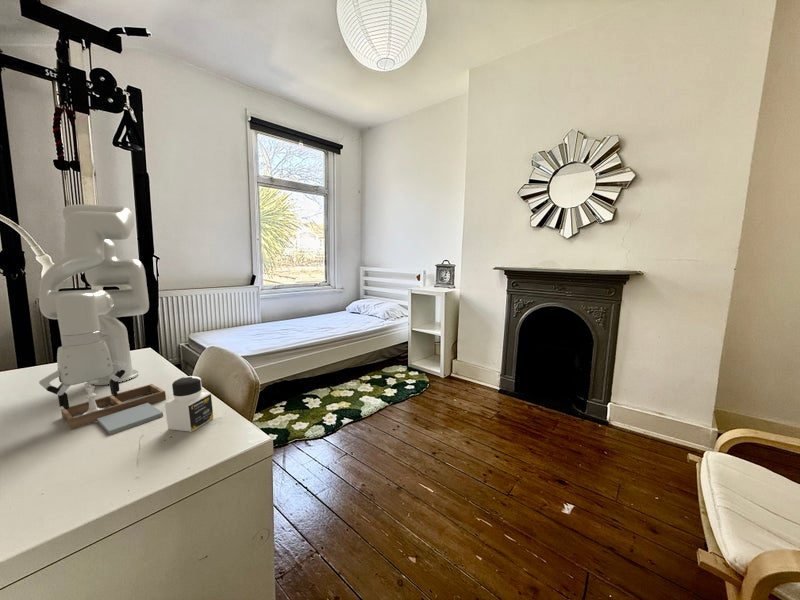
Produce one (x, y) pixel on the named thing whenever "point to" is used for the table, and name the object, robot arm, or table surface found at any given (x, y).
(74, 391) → the table surface
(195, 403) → the medicine bottle
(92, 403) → the chess piece
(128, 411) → the pad
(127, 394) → the bay frame
